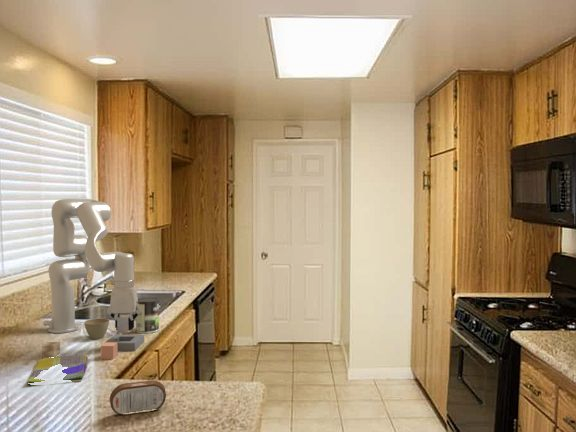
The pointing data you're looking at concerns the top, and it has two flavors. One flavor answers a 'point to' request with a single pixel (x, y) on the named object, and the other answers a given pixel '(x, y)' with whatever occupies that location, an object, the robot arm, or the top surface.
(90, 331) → the flower pot
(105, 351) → the terracotta block
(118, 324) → the steel block
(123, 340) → the bearing plate
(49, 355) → the birch block
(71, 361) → the dish towel
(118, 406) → the tin
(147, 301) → the coffee can
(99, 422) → the top surface
